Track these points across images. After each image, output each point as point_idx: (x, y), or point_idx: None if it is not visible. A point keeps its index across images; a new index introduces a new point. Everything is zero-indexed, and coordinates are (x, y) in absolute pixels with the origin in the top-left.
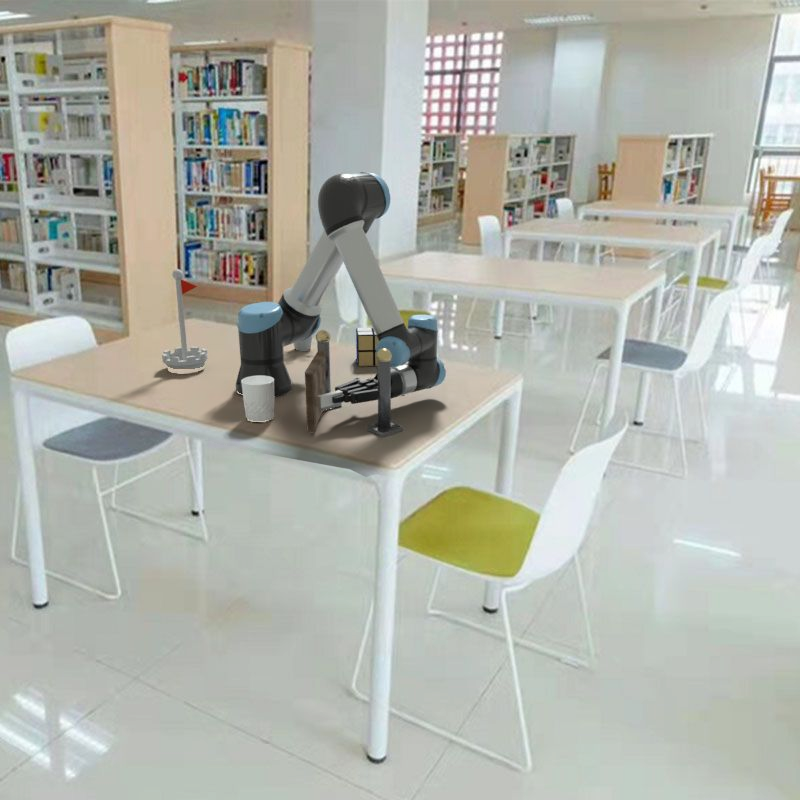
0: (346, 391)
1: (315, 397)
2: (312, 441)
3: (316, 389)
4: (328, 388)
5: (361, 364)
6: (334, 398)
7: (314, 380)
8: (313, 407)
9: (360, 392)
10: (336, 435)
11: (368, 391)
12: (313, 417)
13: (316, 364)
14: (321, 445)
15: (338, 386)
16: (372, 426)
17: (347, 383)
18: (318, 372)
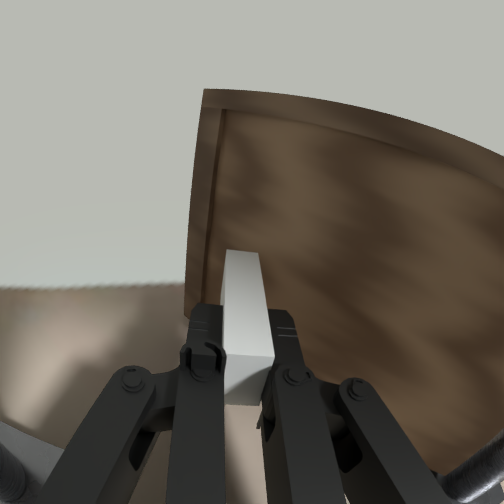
0: (186, 353)
1: (245, 246)
2: (160, 303)
3: (279, 233)
4: (498, 456)
5: None
6: (201, 307)
7: (250, 157)
8: (189, 234)
9: (96, 433)
10: (133, 363)
11: (51, 491)
12: (188, 269)
13: (313, 98)
14: (120, 298)
15: (377, 408)
16: (40, 455)
17: (424, 496)
18: (373, 192)
